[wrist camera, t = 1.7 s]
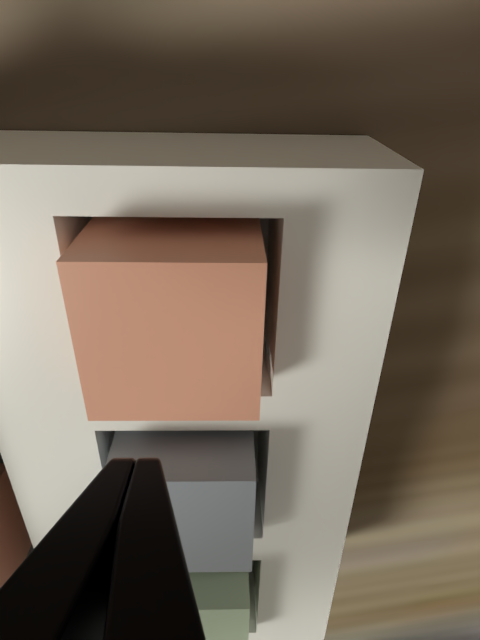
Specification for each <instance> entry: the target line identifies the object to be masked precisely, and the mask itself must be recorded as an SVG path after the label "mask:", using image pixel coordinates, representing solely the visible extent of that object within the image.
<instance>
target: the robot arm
mask: <svg viewBox="0 0 480 640" xmlns="http://www.w3.org/2000/svg"><path fill="white" fill-rule="evenodd" d="M0 640H206V638H205V634H204V630H203V626H202V622H201V618H200V614H199V610H198V606H197V602H196V598H195V594H194V590H193V586H192V582H191V578H190V574H189V570H188V566H187V562H186V558H185V554H184V550H183V546H182V542H181V538H180V535H179V531H178V527H177V523H176V519H175V515H174V511H173V507H172V503H171V499H170V495H169V491H168V487H167V483H166V479H165V475H164V471H163V467H162V463H161V460H160V459H159V458H157V457H151V458H138V459H137V460H135V459H134V458H112V459H111V460H109V461H108V463H107V464H106V465H105V466H104V467H103V468H102V470H101V471H100V472H99V473H98V474H97V475H96V477H95V478H94V479H93V480H92V481H91V482H90V484H89V485H88V486H87V487H86V488H85V489H84V491H83V492H82V493H81V494H80V495H79V497H78V498H77V499H76V500H75V501H74V502H73V504H72V505H71V506H70V507H69V508H68V509H67V511H66V512H65V513H64V514H63V515H62V516H61V518H60V519H59V520H58V521H57V522H56V523H55V525H54V526H53V527H52V528H51V529H50V531H49V532H48V533H47V534H46V535H45V536H44V538H43V539H42V540H41V541H40V542H39V543H38V545H37V546H36V547H35V548H34V549H33V550H32V552H31V553H30V554H29V555H28V556H27V557H26V559H25V560H24V561H23V562H22V563H21V565H20V566H19V567H18V568H17V569H16V570H15V572H14V573H13V574H12V575H11V576H10V577H9V579H8V580H7V581H6V582H5V583H4V584H3V586H2V587H1V588H0Z"/></svg>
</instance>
